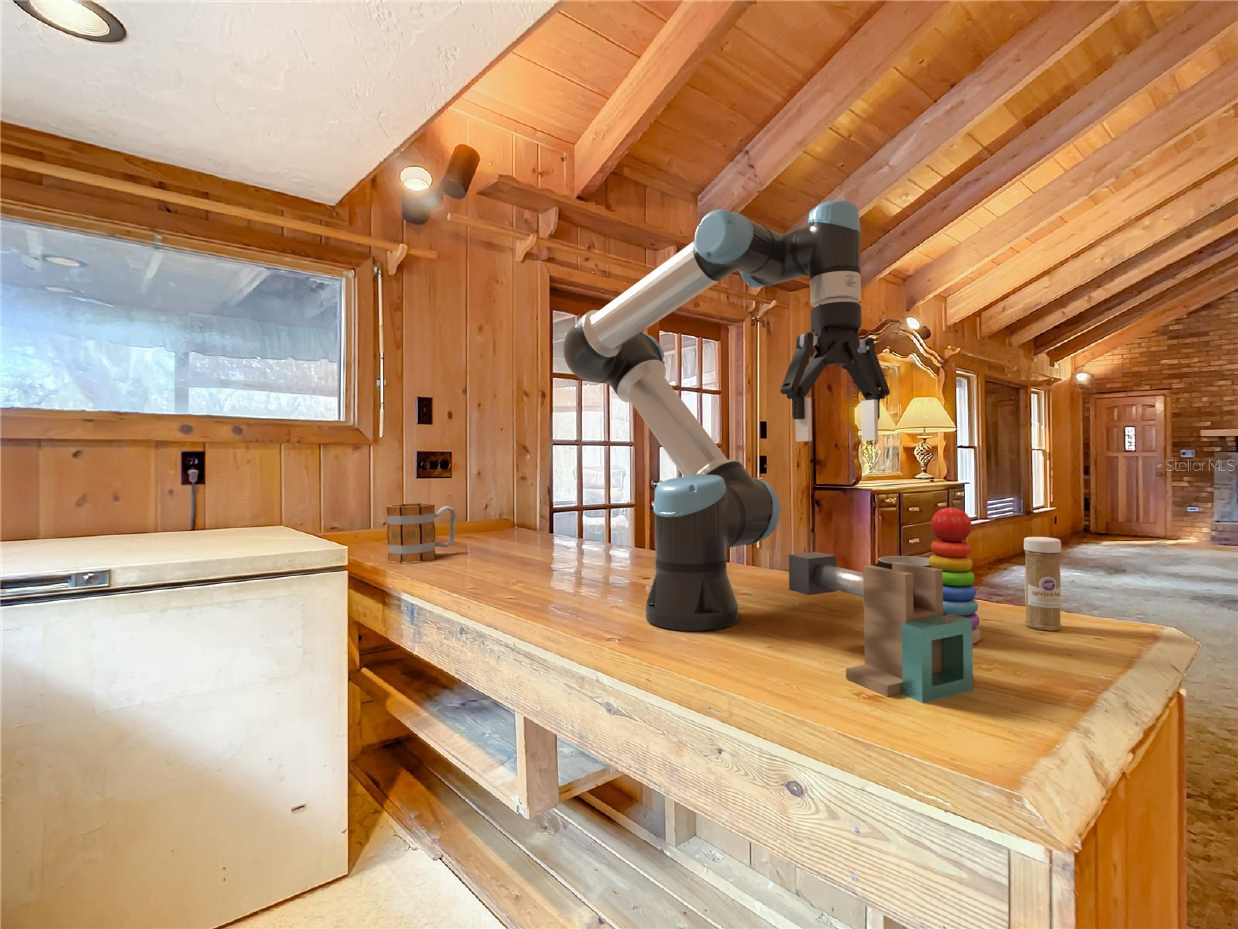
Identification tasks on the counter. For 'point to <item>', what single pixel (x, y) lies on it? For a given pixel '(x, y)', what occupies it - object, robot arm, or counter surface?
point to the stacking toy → (955, 565)
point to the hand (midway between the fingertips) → (837, 441)
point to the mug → (414, 531)
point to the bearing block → (895, 621)
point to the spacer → (919, 657)
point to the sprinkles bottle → (1042, 583)
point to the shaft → (822, 575)
